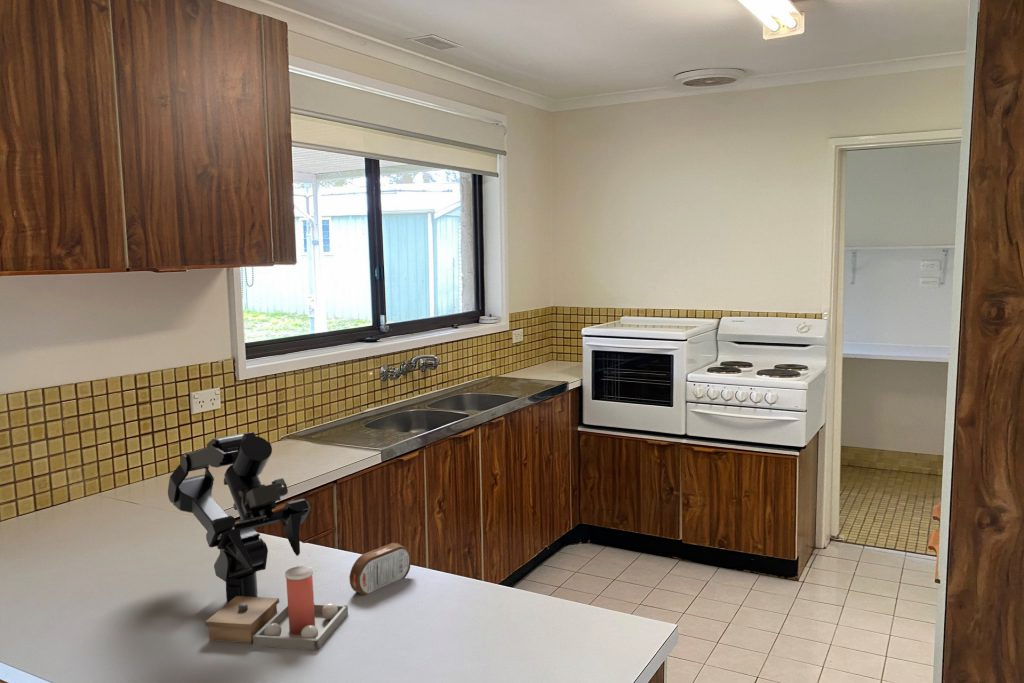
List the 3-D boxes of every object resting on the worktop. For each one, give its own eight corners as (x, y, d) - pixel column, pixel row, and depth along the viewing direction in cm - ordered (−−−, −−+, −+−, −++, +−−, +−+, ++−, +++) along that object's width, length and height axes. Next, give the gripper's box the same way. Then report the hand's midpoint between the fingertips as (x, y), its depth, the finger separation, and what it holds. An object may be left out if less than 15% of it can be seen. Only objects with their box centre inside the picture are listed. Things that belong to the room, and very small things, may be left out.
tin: (404, 574, 172) (402, 537, 171) (414, 578, 170) (412, 540, 169) (349, 599, 160) (347, 558, 159) (359, 603, 158) (357, 562, 157)
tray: (289, 614, 154) (288, 602, 154) (348, 617, 152) (347, 605, 151) (253, 650, 140) (252, 636, 140) (317, 654, 138) (316, 640, 138)
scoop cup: (301, 620, 149) (298, 564, 148) (321, 625, 147) (318, 568, 146) (282, 632, 145) (279, 574, 144) (303, 637, 143) (300, 578, 141)
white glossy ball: (305, 637, 142) (304, 621, 142) (321, 638, 142) (320, 622, 142) (298, 645, 140) (297, 629, 139) (314, 646, 139) (313, 630, 139)
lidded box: (237, 617, 153) (236, 591, 152) (280, 620, 151) (278, 593, 151) (206, 645, 142) (204, 616, 142) (252, 648, 141) (250, 619, 140)
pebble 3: (326, 615, 151) (325, 599, 151) (341, 615, 151) (340, 600, 150) (319, 622, 148) (318, 606, 148) (334, 623, 148) (333, 607, 147)
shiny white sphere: (269, 635, 144) (268, 619, 143) (285, 636, 143) (283, 620, 143) (261, 643, 141) (260, 627, 140) (277, 644, 140) (276, 628, 140)
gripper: (207, 477, 142) (235, 553, 135) (303, 457, 154) (334, 526, 147) (194, 510, 149) (221, 584, 142) (288, 489, 161) (316, 556, 154)
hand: (275, 561), depth 146 cm, fingers open, 9 cm apart
